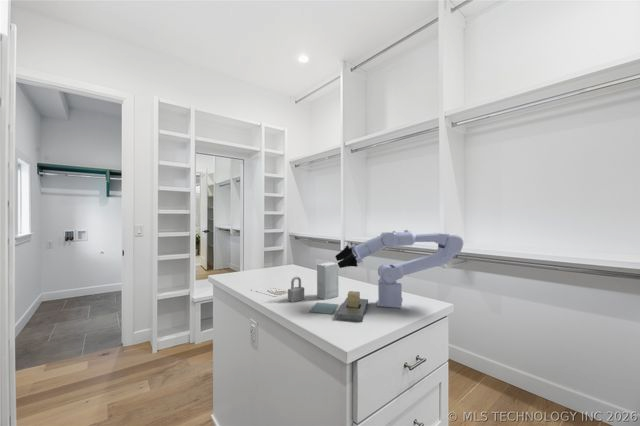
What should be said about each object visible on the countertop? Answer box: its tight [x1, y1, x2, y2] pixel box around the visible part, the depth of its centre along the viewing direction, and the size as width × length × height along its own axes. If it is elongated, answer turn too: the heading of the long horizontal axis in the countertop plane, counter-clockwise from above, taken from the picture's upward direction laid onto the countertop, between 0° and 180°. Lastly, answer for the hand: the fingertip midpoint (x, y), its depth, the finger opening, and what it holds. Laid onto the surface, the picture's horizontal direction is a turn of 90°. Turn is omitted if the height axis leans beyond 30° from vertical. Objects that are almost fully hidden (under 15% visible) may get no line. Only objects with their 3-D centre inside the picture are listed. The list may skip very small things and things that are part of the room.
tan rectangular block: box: [347, 290, 361, 309], centre depth 108 cm, size 4×4×7 cm
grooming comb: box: [267, 290, 288, 296], centre depth 136 cm, size 18×10×1 cm, turn 51°
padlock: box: [287, 276, 305, 303], centre depth 122 cm, size 7×4×10 cm, turn 137°
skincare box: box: [316, 261, 339, 301], centre depth 127 cm, size 8×6×15 cm
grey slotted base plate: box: [336, 297, 369, 323], centre depth 108 cm, size 9×20×2 cm, turn 165°
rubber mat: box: [308, 302, 339, 315], centre depth 111 cm, size 9×11×1 cm
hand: (337, 261), depth 117 cm, fingers open, 7 cm apart
